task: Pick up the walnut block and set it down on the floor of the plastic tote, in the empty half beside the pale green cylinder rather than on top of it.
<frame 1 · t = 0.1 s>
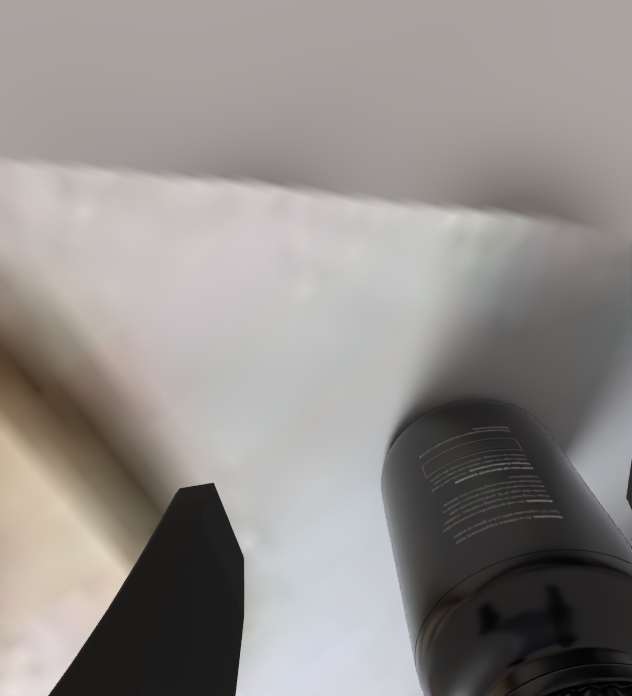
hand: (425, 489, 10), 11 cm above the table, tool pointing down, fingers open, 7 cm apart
supplement bottle: (465, 467, 23), on the table
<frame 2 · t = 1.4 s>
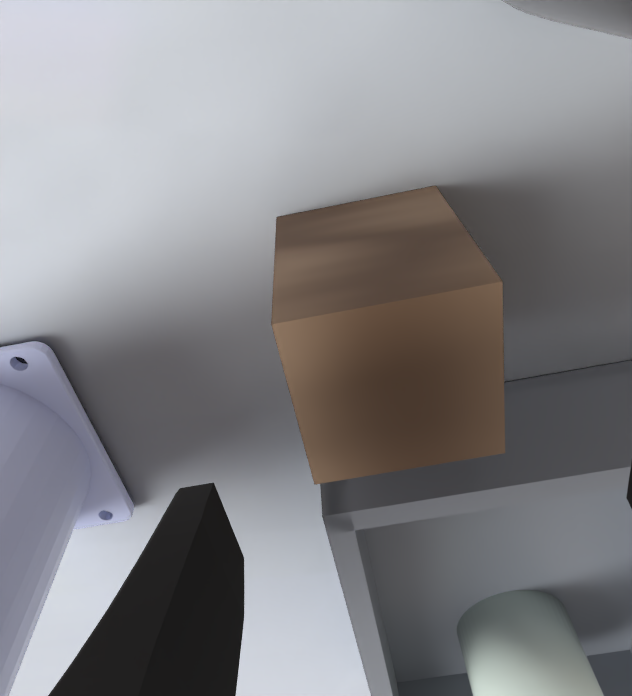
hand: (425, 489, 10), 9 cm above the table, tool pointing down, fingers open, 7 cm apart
walnut block: (366, 272, 17), on the table
tote: (506, 550, 25), on the table
pale green cylinder: (511, 623, 27), point 1 cm above the table, touching tote
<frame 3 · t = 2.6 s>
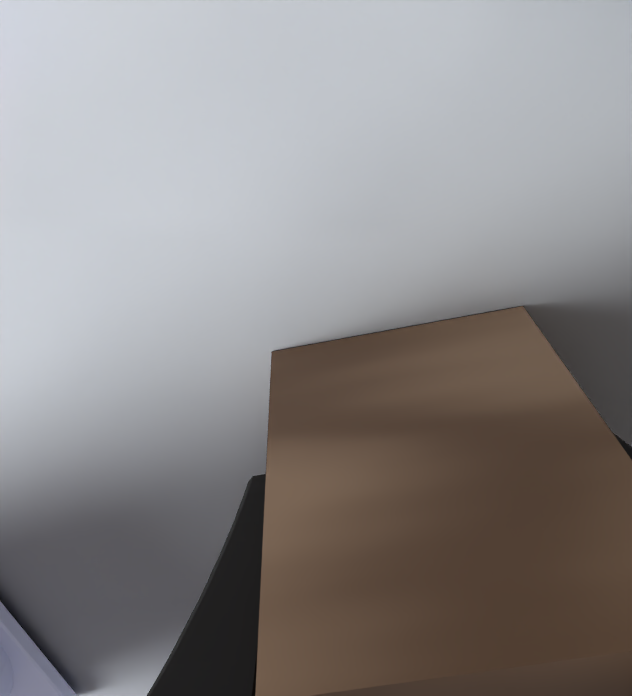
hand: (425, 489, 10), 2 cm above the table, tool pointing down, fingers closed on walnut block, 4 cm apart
walnut block: (408, 424, 11), on the table, touching gripper
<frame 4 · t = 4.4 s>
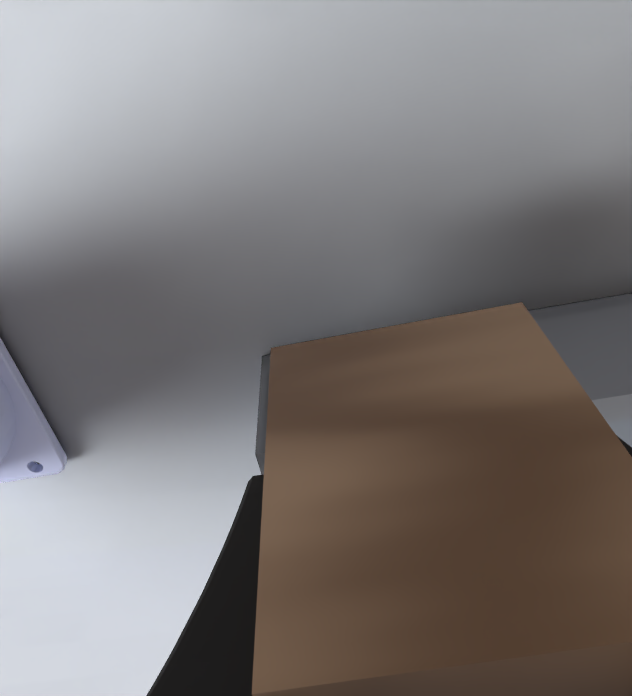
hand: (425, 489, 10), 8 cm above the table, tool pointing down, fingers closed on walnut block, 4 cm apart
walnut block: (407, 421, 12), point 7 cm above the table, touching gripper
tote: (473, 514, 23), on the table
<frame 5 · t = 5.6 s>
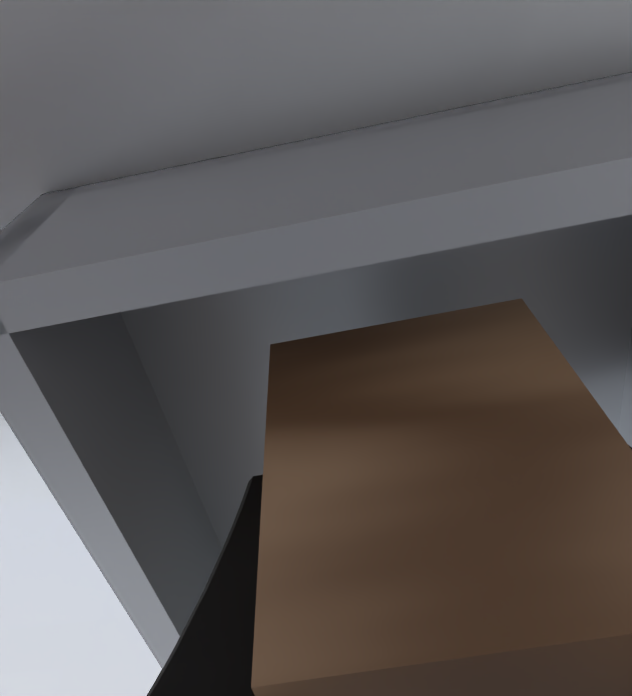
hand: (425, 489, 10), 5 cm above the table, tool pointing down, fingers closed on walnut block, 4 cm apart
walnut block: (407, 418, 11), point 3 cm above the table, touching gripper
tote: (401, 456, 16), on the table
when the fingers open (4 cm above the table, at t = 6.3 s): walnut block drops 1 cm, resting on tote.
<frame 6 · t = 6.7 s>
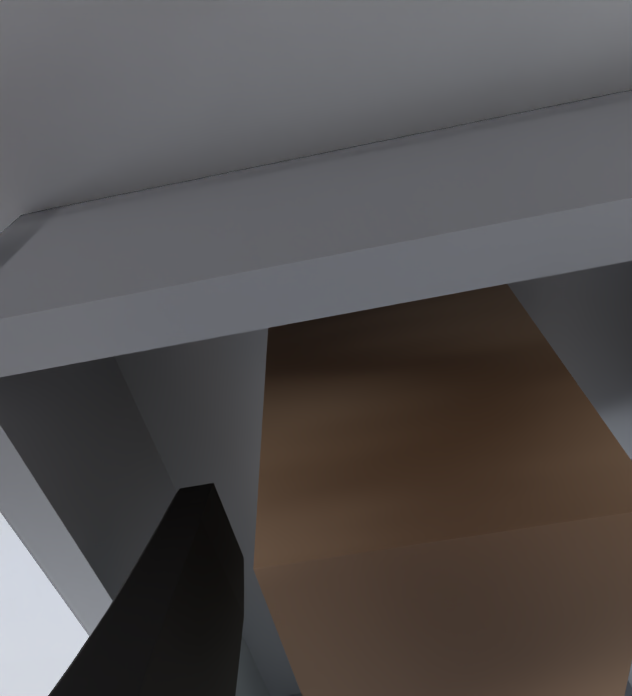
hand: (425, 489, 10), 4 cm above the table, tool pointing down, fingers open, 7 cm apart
walnut block: (393, 380, 13), point 1 cm above the table, touching tote
tote: (411, 489, 15), on the table
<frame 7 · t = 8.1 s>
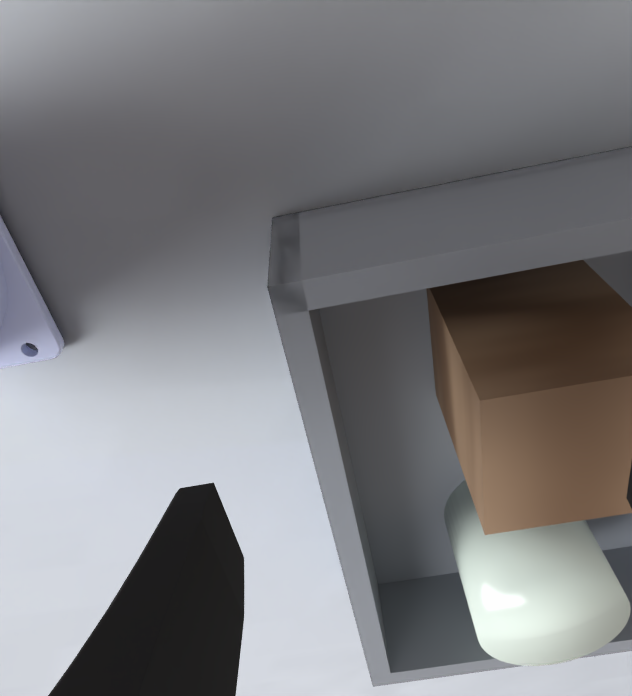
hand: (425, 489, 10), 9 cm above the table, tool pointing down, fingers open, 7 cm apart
walnut block: (500, 328, 19), point 1 cm above the table, touching tote
tote: (499, 413, 21), on the table
pale green cylinder: (505, 507, 23), point 1 cm above the table, touching tote
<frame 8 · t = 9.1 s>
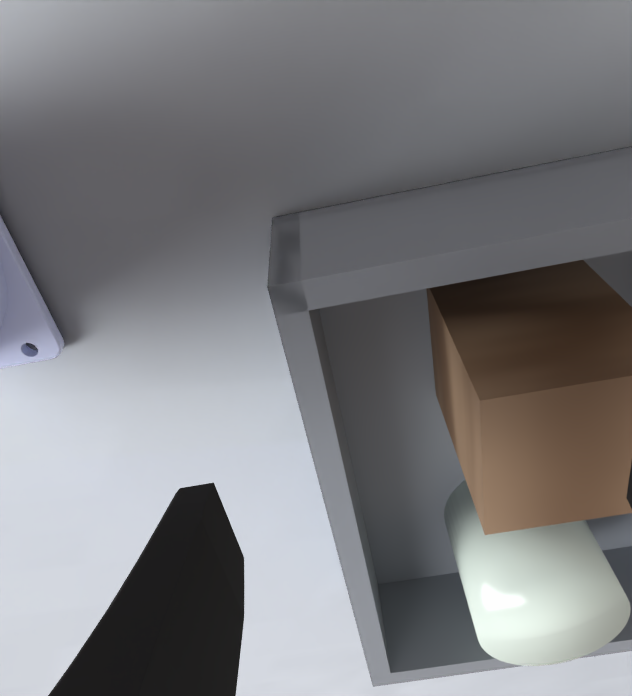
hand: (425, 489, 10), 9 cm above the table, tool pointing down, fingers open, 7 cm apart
walnut block: (500, 328, 19), point 1 cm above the table, touching tote
tote: (499, 413, 21), on the table
pale green cylinder: (505, 507, 23), point 1 cm above the table, touching tote
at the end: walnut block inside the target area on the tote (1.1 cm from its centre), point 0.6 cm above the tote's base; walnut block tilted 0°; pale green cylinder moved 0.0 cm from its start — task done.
